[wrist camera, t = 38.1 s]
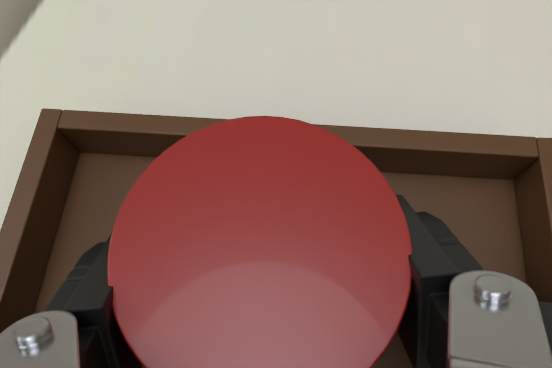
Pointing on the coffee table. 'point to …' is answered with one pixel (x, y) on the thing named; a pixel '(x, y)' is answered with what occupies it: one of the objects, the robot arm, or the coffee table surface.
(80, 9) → the coffee table surface
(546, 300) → the tray
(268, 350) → the lid
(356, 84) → the coffee table surface
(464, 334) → the robot arm
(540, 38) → the coffee table surface
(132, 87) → the coffee table surface
